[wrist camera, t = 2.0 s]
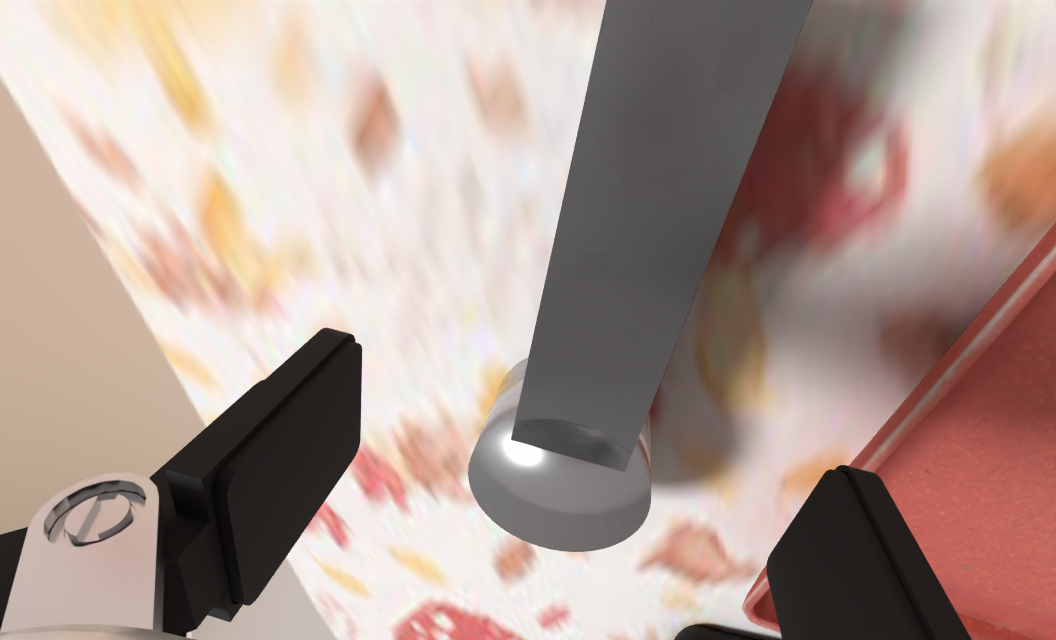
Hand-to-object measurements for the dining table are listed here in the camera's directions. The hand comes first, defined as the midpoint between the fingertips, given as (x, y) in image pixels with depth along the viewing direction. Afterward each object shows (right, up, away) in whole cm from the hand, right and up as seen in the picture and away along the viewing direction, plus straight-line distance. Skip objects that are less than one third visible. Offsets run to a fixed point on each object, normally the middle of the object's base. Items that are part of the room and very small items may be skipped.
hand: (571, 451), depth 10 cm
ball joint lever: (+2, +4, +6) cm, 7 cm away
